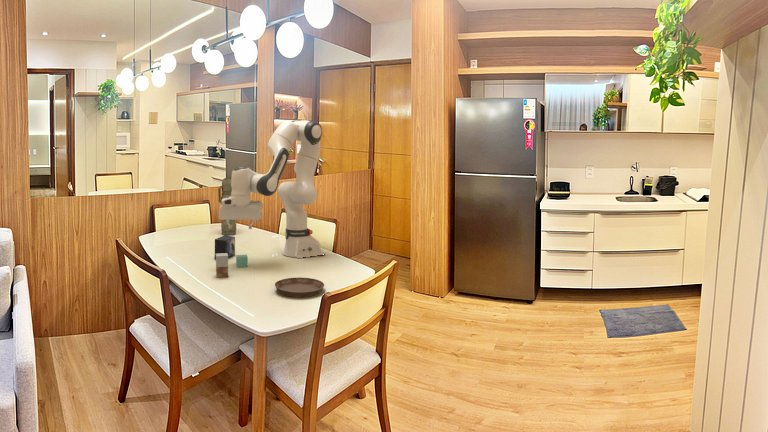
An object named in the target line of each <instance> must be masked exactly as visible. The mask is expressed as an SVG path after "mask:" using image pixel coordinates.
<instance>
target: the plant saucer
mask: <svg viewBox="0 0 768 432" xmlns="http://www.w3.org/2000/svg"><path fill="white" fill-rule="evenodd" d="M274 287H275V289H276V290H277V291H278V292H279V293H280V294H282V295H283V296H287V297H292V298H306V297H307V296H308V297H311V296H315V295H318V294H319V293H320V292H321V291H323V289H324V287H325V283H324V282H323V281H321V280H319V279H316V278H310V277H287V278H282V279H280V280H277V281H276V282H275V283H274ZM308 297H307V298H308Z"/></svg>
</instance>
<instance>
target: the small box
mask: <svg viewBox="0 0 768 432" xmlns="http://www.w3.org/2000/svg"><path fill="white" fill-rule="evenodd" d="M218 253H227V254H228V259H231V258H233V257H234V256H235V257H236V236H234V235H231V236H225V235H222V236H220V237H217V238H215V239H214V260H216V254H218Z"/></svg>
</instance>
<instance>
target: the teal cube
mask: <svg viewBox="0 0 768 432" xmlns="http://www.w3.org/2000/svg"><path fill="white" fill-rule="evenodd" d="M235 258H236V259H235V261H236V262H235V264H236V268H248V267H249V266H248V263H249V261H248V259H249V258H248V254H235Z"/></svg>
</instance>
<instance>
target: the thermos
mask: <svg viewBox="0 0 768 432" xmlns="http://www.w3.org/2000/svg"><path fill="white" fill-rule="evenodd" d="M221 192H222V193H221ZM231 192H232V186H231V177H225V178H223V179H222V181H221V186H219V187H218V190H217V193H218V203H220V205H221V204H222V202H221V201H222V199H224V198H227V197H231ZM229 224H230V225H232V229H229V228H228V226H229V225H228V224H227V222H226V220H221V225H220V227H221V229H220V230H221V235H222V236H236V235H237V222H236V220H229Z"/></svg>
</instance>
